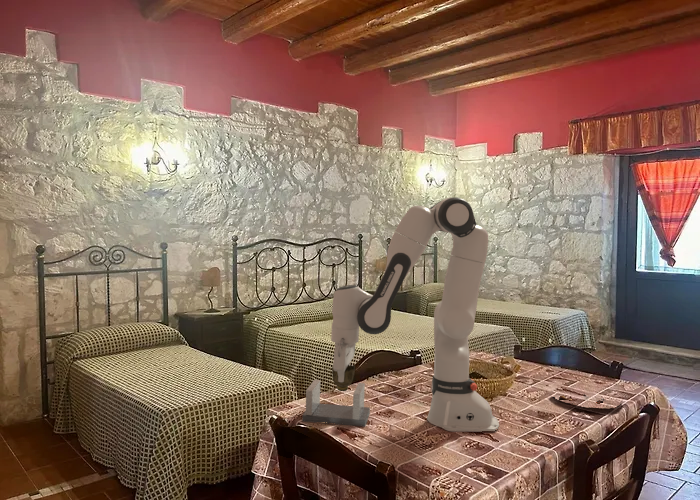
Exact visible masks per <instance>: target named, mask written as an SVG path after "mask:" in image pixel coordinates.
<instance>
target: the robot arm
mask: <svg viewBox="0 0 700 500" xmlns="http://www.w3.org/2000/svg"><path fill="white" fill-rule="evenodd" d="M438 231H439V232H443V233H450V234H451V236H452V245H453V246H452V248H451V253H450V255H449V260H448V264H447V268H446V272H445V276H444V283H443V291H442V297H441V300H440V301H439V302H438V303H437V304H436V306H435V308H434V311H433V315H434V316H433V333H434V334H433V337H434V339H433V342H434V346H433V347H434V362H433V363H434V364H433V365H434V366H433V375H432V378H431V394H432V396H431V397H432V398H431V402H430V406H429V407H430V408H429V411H428V415H427V417H426V419H427V421H428V422H429V423H430V424H432V425H434V426H436V427H439V428H442V429H443V430H445V431H448V432H469V433H471V432H473V433H475V432H476V433H477V432H478V433H479V432H480V433H481V432H482V431H495V430H496V429H498V427H499V428H500V423H499V419H498V418H497V417H496V416H494V415H493V412H492V407H491V405H490V403H489V402H488V400H487V399H485V398H484V397H483V396H481V395H480V394H479V393H478V392H477V390H478V385H477V383H476V382H475V380H474V379H473V378H470V375H469V374H470V356H471V355H470V348H469V336H470V334H471V333H472V332H473V330H474V327H475V320H476V313H477V307H478V301H479V300H478V299H479V292H480V291H479V290H480V286H481V282H482V278H483V273H484V268H485V263H486V261H487V255H488V248H489V233H488V231H487V230H486V229H485V228H484V227H483V226H481V225H478V224H477V222H476V218H475V214H474V210H473V208H472V206H471V204H470V203H469V202H468V201H467V200H466V199H464V198H461V197H456V196H455V197H446V198H444V199H442V200H440V201H438V202H437V203H436V204H434V205H432V206H431V207H426V206H424V205H412V206H411V207H409V209H408V210H407V212H405V214H404V215H403V217H402V218H401V220H400V221H399V223H398V225H397V226H396V228H395V230H394V232H393V234H392V236H391V238H390V242H389V245H388V248H387V252H386V253H387V254H386V266H385V269H384V272H383V275H382V276H381V279H380V281H379V283H378V285H377V287H376V289H375V291H374V293H373V294H371V293H369V292H367V291H365V290H363V289H362V288H360V287H359V285H356V284H349V285H342V286H340V287H338V288H337V289H336V290H335V291H334V292H333V299H332V309H331V310H332V312H331V313H332V317H333V318H332V323H331V333H330V334H331V335H330V336H331V337H330V339H331V340H330V341H331V342H332V343H334V346H335V347H334V352H333V360H332V361H333V363H332V367H333V370H334V371H337V372H338V382H344V372H345V370H346V368H347V366H348V365H349V366H350V365H351V362H352V360H353V359H354V357H355V353H356V346H357V345H356V343H359V336H360V329H361V330H362V331H363V332H365V333H366V334H369V335H379V334H381V333H384V332H385V331H386V330H387V329H388V328H389V326H390V324H391V319H392V306H393V304H394V302H395V299H396V297H397V295H398V293H399V291H400V288H401V286H402V285H403V283H404V281H405V279H406V277H407V276H408V274H409V273H410V271H411V270H412V269H413V268H414V266H415V265H416V264H417V262H418V261H419V260H420V258H421V256H422V255H423V253H424V251H425V249H426V247H427V246H428V244H429V241H430V239H431V238H432V237H433V236H434V234H435V233H436V232H438ZM498 430H499V429H498ZM495 432H496V431H495ZM482 433H483V432H482Z"/></svg>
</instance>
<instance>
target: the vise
mask: <svg viewBox="0 0 700 500" xmlns="http://www.w3.org/2000/svg"><path fill="white" fill-rule="evenodd" d="M365 387H366V383H364V382H358V384H357V386H356V387H355V390H354V392H353V394H352V395H353V397H352V405H343V404H342V405H341V404H329V403H320V404H319V405H318V407H317V408H316V410H315V411H314V413H313V414H312V415H306V410H304V412H303V413H302V416H301V418H302V422H307V423H308V422H309V423H317V422H325V423H324V424H329V423H333V424H332V425H341V424H342V425H343V426H352V427H353V426H355V427H363V428H364V427H366V425H367V423H368V420H369V417H370V414H371V407H369V406H368V407H367V406H365V391H366V390H365ZM326 422H327V423H326ZM334 423H335V424H334Z"/></svg>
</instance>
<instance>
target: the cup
mask: <svg viewBox="0 0 700 500" xmlns="http://www.w3.org/2000/svg"><path fill="white" fill-rule="evenodd" d="M355 370H356V366H355V364H352V363H350V365H348V366H347V368H346V370H345V372H344V382H338V372H337V371H334V370H333V366H331V371H332V372H331V374H332V380H333V383H334V384H335V385H336V389H337V391H339V392H346V391H348V390H349V386H350V385H352V383H353V381H354V375H355Z"/></svg>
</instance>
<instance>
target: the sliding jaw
mask: <svg viewBox="0 0 700 500" xmlns="http://www.w3.org/2000/svg"><path fill="white" fill-rule="evenodd" d="M319 404H321V379H320V380H319V379H314V380H313V381H312V382H311V384H310V385H309V386H308V387H307V389H306V390H305V411H306V415H312V414H313V413H314V411H315V410H316V408H317V407H318V405H319Z"/></svg>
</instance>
